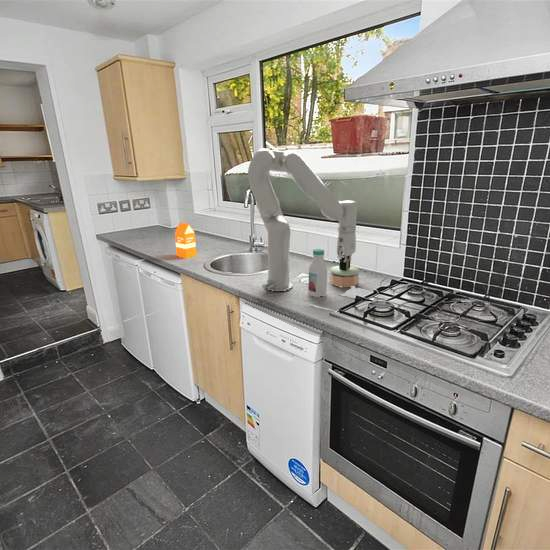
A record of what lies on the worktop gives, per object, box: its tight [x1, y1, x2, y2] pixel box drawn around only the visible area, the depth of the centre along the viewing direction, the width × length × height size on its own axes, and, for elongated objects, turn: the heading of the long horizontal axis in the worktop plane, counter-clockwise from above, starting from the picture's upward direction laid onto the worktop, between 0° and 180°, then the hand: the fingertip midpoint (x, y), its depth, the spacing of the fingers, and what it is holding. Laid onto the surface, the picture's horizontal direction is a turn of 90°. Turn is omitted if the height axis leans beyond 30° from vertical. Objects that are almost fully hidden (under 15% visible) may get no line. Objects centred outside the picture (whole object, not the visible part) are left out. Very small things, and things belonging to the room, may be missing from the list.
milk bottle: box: [307, 248, 328, 298], centre depth 151 cm, size 8×8×20 cm
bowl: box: [329, 272, 360, 288], centre depth 166 cm, size 12×12×5 cm
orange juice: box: [174, 222, 197, 259], centre depth 213 cm, size 8×9×20 cm
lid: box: [329, 256, 360, 276], centre depth 164 cm, size 13×13×6 cm
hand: (344, 268), depth 165 cm, fingers closed on lid, 3 cm apart
